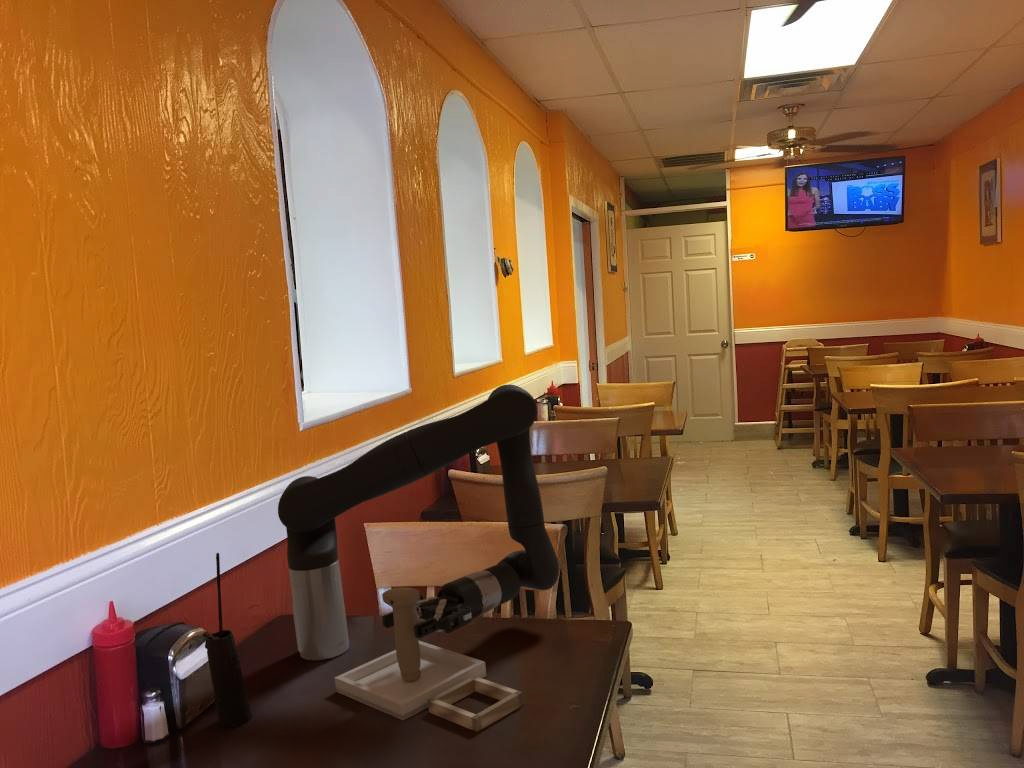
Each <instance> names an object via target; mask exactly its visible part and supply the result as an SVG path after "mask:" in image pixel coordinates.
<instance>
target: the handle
mask: <svg viewBox="0 0 1024 768" xmlns="http://www.w3.org/2000/svg"><path fill="white" fill-rule="evenodd" d="M420 594H421V593H420V590H418V589H417V588H412V587H394V588H390V589H388V590H386V591H385V590H384V592H383V593H382V595H381V597H382V601H383V603H385V604H386V605H387V606H389V607H391V608H392V612H393V617H394V626H393V628H394V629H393V631H394V643H395V644H394V645H395V650H396V655H397V660H398V665H399V668H400V671H401V672H400V673H401V677H402V679H404V681H405V682H409V681H416V680H417V679H419V678H420V677H421V670H419V668H420V648H419V641H420V640H419V638H416V637H415V634H414V626H415V625H416V622H415V620H414V614H413V604H414V603H416V602H417V601H418V600H419V598H420ZM418 640H419V641H418Z"/></svg>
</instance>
